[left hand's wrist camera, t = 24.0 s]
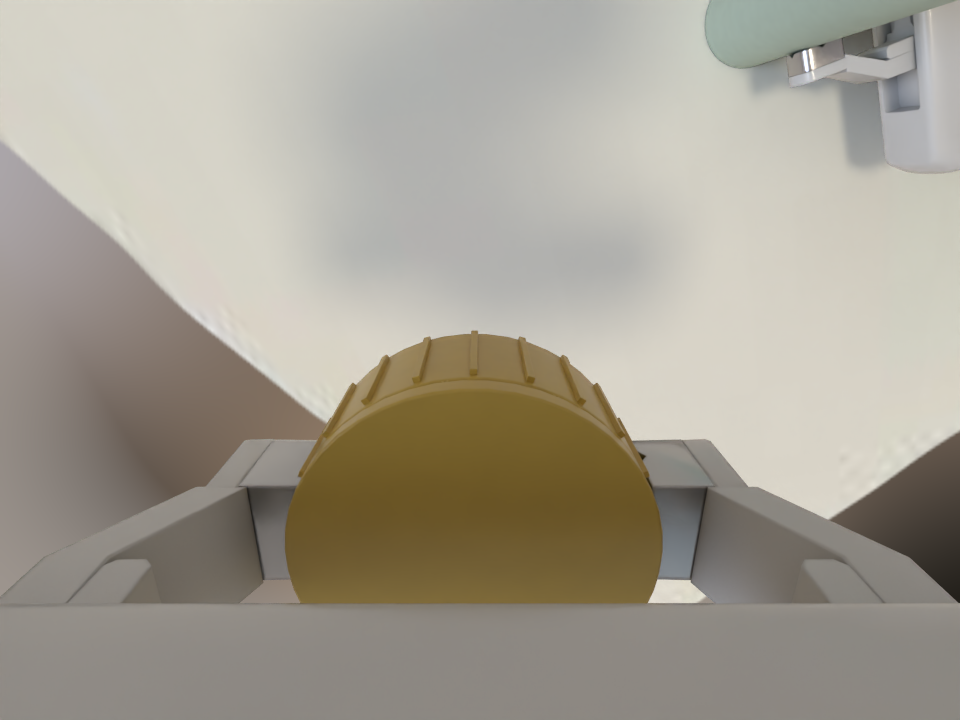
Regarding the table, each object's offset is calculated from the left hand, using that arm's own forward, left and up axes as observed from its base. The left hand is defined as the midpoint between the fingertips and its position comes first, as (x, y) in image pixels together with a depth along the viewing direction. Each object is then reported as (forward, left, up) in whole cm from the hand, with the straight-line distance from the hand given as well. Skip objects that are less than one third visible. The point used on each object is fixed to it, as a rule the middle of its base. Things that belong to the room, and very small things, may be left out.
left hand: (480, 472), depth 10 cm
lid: (0, 0, +2) cm, 2 cm away
